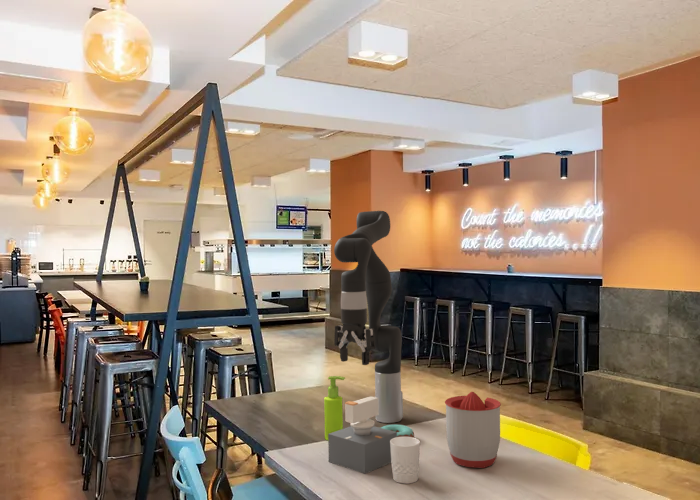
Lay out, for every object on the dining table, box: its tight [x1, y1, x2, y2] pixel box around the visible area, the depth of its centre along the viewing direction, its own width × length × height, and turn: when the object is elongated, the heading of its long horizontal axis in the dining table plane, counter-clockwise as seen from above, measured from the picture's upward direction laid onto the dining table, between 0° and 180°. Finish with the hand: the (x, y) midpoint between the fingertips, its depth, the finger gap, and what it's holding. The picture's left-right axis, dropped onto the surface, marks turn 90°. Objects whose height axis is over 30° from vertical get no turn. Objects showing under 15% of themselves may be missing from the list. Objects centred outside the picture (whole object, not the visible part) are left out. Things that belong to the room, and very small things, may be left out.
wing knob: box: [344, 396, 379, 429], centre depth 169 cm, size 11×7×7 cm, turn 137°
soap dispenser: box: [323, 375, 346, 441], centre depth 189 cm, size 6×7×20 cm
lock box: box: [327, 425, 397, 474], centre depth 169 cm, size 14×14×10 cm
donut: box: [380, 424, 415, 438], centre depth 186 cm, size 12×12×4 cm
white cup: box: [390, 437, 421, 484], centre depth 155 cm, size 8×8×10 cm
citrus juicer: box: [444, 391, 501, 469], centre depth 168 cm, size 16×17×20 cm
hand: (354, 362), depth 169 cm, fingers open, 8 cm apart
